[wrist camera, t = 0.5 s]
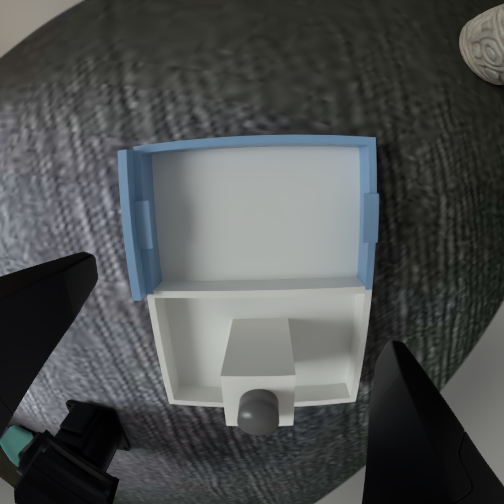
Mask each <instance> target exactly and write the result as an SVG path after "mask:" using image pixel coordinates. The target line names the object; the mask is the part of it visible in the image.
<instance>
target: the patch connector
mask: <svg viewBox="0 0 504 504" xmlns="http://www.w3.org/2000/svg"><path fill="white" fill-rule="evenodd" d="M220 378H221V386H222V395H223V403H224V411H225V418H226V426H239V428H240V429H241V430H242V431H244V432H246V433H248V434H251V435H266V434H269V433H271V432H273V431H275V430H276V429H277V427H278V426H290V425H293V419H294V402H295V382H296V373H295V365H294V358H293V351H292V344H291V337H290V330H289V323H288V318H275V319H233V320H232V325H231V329H230V334H229V339H228V343H227V348H226V352H225V357H224V361H223V366H222V371H221V375H220Z"/></svg>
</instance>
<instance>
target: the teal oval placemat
mask: <svg viewBox="0 0 504 504" xmlns="http://www.w3.org/2000/svg"><path fill="white" fill-rule="evenodd" d="M33 438H34V437H33V435H32V433H31V432H29V431H27V430H25V429H23V428H21V427H19V426H16V425H13V426H11V427H8V426H7V427H6V429H5V431H4V433H3V434H2V436H1V438H0V445H1V446H2V448H3V450H4V452H5V453H6V455H7V456H8V457H9V459H10V460H11V461H12V462H13V463H14V464H15V465H16V466H17V467H19V465H18V464H19V459H18V454H19V452H20V451H21V450H22V449H23V448H24V447H25V446H26V445H27V444H28V443H29V442H30V441H31V440H32V439H33Z"/></svg>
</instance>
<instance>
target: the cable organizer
mask: <svg viewBox="0 0 504 504" xmlns="http://www.w3.org/2000/svg"><path fill="white" fill-rule="evenodd" d="M133 148H134V151H133V150H120V151H118V171H119V188H120V202H121V214H122V224H123V234H124V242H125V250H126V258H127V265H128V272H129V279H130V285H131V291H132V297H133V300H138V301H141V300H142V299H143V298H144V297H145V296H146V295H147V298H148V304H149V310H150V316H151V321H152V327H153V332H154V338H155V343H156V348H157V353H158V357H159V362H160V367H161V371H162V376H163V380H164V384H165V388H166V393H167V397H168V401H169V404H179V405H192V406H208V407H224V403H223V395H222V386H221V378H220V375H221V371H222V366H223V361H224V357H225V352H226V348H227V343H228V339H229V334H230V329H231V325H232V320H233V319H275V318H288V323H289V330H290V337H291V344H292V351H293V358H294V365H295V373H296V382H295V402H294V407H297V406H313V405H326V404H337V403H346V402H355V401H356V397H357V391H358V386H359V381H360V375H361V370H362V364H363V358H364V351H365V345H366V338H367V330H368V323H369V314H370V305H371V296H372V285H373V273H374V260H375V243H378V223H379V194H377V162H376V138H375V137H359V136H337V135H258V136H236V137H219V138H206V139H194V140H184V141H174V142H166V143H157V144H150V145H142V146H135V147H133Z"/></svg>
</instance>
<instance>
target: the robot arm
mask: <svg viewBox="0 0 504 504" xmlns="http://www.w3.org/2000/svg"><path fill="white" fill-rule="evenodd" d="M97 280H98V273H97V265H96V258H95V256H94V255H92V254H90V253H87V252H80V253H76V254H73V255H69V256H66V257H63V258H59V259H56V260H52V261H49V262H46V263H42V264H39V265H36V266H33V267H29V268H26V269H23V270H20V271H16V272H13V273H10V274H7V275H4V276H1V277H0V438H1V436H2V434H3V433H4V431H5V429H6V427H7V425H8V423H9V422H10V420H11V418H12V416H13V414H14V412H15V411H16V409H17V407H18V405H19V404H20V402H21V400H22V399H23V397H24V395H25V394H26V392H27V390H28V389H29V387H30V385H31V384H32V382H33V381H34V379H35V377H36V376H37V374H38V373H39V371H40V370H41V368H42V367H43V365H44V364H45V362H46V360H47V359H48V357H49V356H50V354H51V353H52V351H53V350H54V349H55V347H56V346H57V344H58V343H59V341H60V340H61V338H62V337H63V336H64V334H65V333H66V331H67V330H68V328H69V327H70V326H71V324H72V323H73V321H74V320H75V318H76V317H77V315H78V313H79V312H80V310H81V308H82V307H83V305H84V303H85V302H86V300H87V298H88V297H89V295H90V293H91V292H92V290H93V288H94V287H95V285H96V283H97ZM66 406H67V408H68V410H69V414H68V415H67V416H66V418H65V419H64V421H63V422H62V423H61V425H60V429H59V431H58V432H57V434H56V435H55V437H54V436H53V435H52V434H50V432H49V431H48V430H47V429H46V430H45V431H44V433H41V432H37V434H36V435H35V436H34V438H33V439H32V440H31V441H30V442H29V443H28V444H27V445H26V446H25V447H24V448H23V449H22V450H21V451H20V452H19V454H18V459H19V464H18V465H19V467H18V469H17V472H18V473H19V474H20V475H22V476H21V478H20V479H19V481H18V483H17V484H16V486H15V488H14V497H15V504H112V503H113V500H114V496H115V493H116V489H117V486H118V483H119V479H118V478H116V477H113V476H111V475H110V474H108V473H106V471H107V469H108V467H109V465H110V463H111V461H112V458H113V456H114V454H115V452H116V450H117V449H120V450H125V451H129V450H130V448H131V446H130V444H129V442H128V440H127V437H126V435H125V433H124V430H123V428H122V426H121V423H120V421H119V418H118V416H117V413H116V412H115V411H114V410H112V409H108V408H103V407H98V406H93V405H88V404H84V403H80V402H75V401H71V400H68V401H67V402H66ZM362 504H504V486H503V484H502V483H501V482H500V480H499V479H498V477H497V476H496V475H495V473H494V472H493V471H492V469H491V468H490V467H489V465H488V464H487V463H486V461H485V460H484V458H483V457H482V456H481V454H480V453H479V451H478V450H477V448H476V446H475V445H474V444H473V442H472V440H471V439H470V437H469V436H468V434H467V432H464V428H463V427H462V425H461V423H460V422H459V421H458V419H457V417H456V416H455V414H454V413H453V411H452V410H451V408H450V407H449V405H448V404H447V402H446V401H445V400H444V398H443V397H442V395H441V394H440V392H439V391H438V389H437V388H436V387H435V385H434V384H433V382H432V381H431V379H430V378H429V377H428V375H427V374H426V372H425V371H424V370H423V368H422V367H421V366H420V364H419V363H418V361H417V360H416V359H415V357H414V356H413V355H412V353H411V352H410V350H409V349H408V348H407V346H406V345H405V344H404V343H403V342H400V341H396V340H390V341H389V342H388V343H387V344H386V346H385V347H384V349H383V351H382V352H381V354H380V355H379V357H378V359H377V361H376V364H375V372H374V380H373V388H372V396H371V403H370V411H369V430H368V447H367V460H366V472H365V482H364V492H363V499H362Z"/></svg>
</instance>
